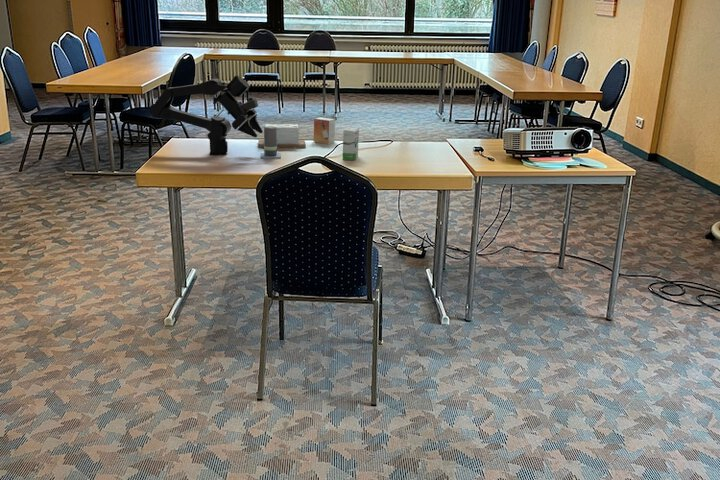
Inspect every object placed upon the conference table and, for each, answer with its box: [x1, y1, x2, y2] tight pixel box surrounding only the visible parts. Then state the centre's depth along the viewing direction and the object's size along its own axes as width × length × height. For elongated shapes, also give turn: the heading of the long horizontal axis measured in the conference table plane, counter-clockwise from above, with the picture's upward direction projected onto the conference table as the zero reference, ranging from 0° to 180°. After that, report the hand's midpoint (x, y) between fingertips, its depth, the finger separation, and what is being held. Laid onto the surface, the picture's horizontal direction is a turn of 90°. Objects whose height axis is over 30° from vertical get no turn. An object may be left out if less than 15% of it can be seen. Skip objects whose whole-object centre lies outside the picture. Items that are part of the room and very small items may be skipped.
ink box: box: [342, 126, 360, 161], centre depth 278 cm, size 9×5×12 cm, turn 168°
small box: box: [313, 116, 336, 145], centre depth 307 cm, size 8×6×10 cm
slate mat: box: [260, 152, 282, 159], centre depth 278 cm, size 8×7×1 cm
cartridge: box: [263, 126, 278, 156], centre depth 276 cm, size 5×5×11 cm
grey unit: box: [257, 123, 307, 149], centre depth 298 cm, size 20×10×8 cm, turn 98°
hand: (259, 134), depth 275 cm, fingers open, 9 cm apart
